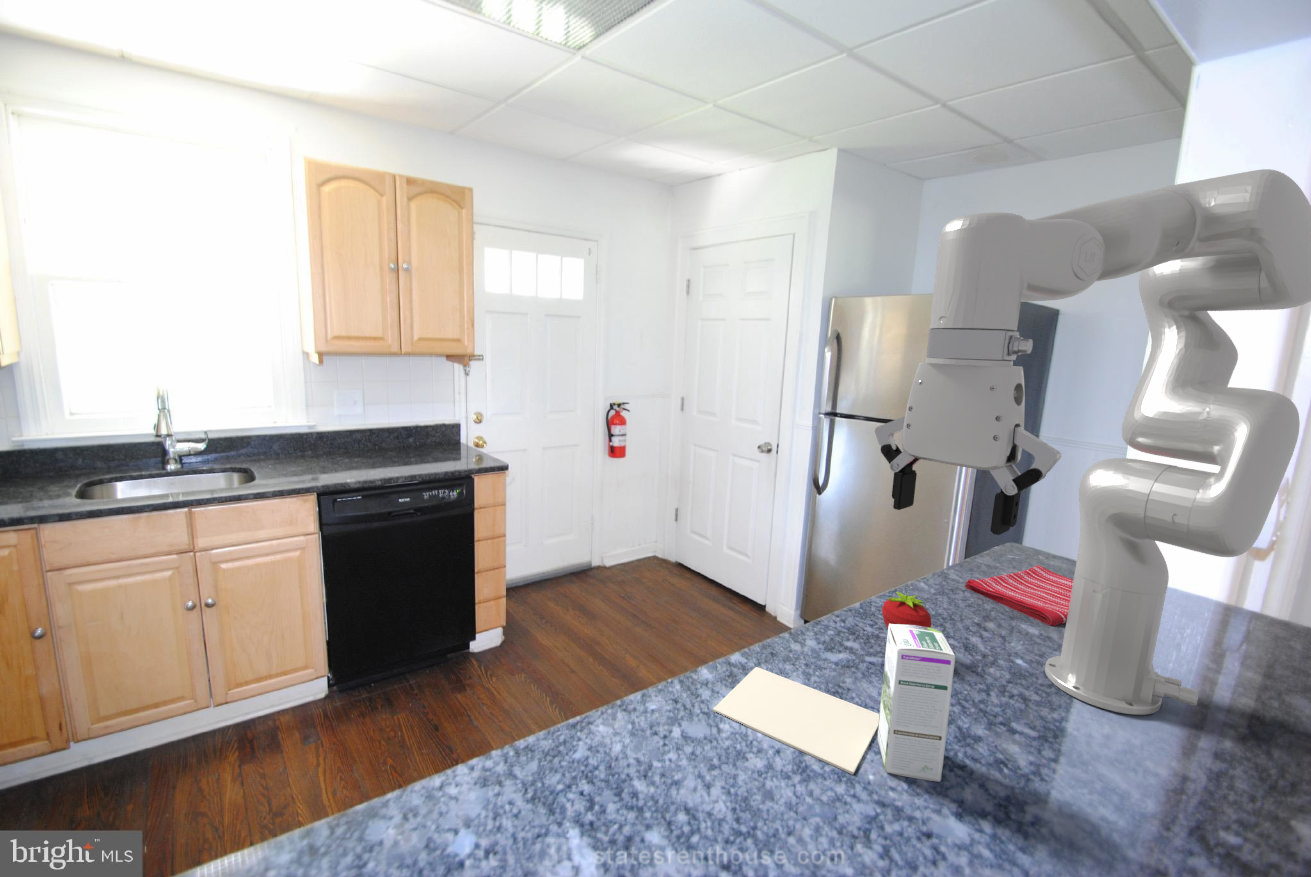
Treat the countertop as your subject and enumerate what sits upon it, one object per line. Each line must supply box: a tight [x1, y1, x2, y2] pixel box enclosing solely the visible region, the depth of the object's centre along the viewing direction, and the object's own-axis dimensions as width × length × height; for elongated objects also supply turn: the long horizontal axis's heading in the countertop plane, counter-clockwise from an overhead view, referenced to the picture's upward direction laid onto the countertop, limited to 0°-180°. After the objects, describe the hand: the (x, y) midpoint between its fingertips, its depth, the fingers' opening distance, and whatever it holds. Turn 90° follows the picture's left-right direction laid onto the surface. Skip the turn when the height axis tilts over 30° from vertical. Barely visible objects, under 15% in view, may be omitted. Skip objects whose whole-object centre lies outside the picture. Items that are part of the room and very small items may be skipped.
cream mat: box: [712, 666, 879, 775], centre depth 70 cm, size 17×12×1 cm
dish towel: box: [965, 564, 1074, 627], centre depth 109 cm, size 17×24×3 cm
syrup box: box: [876, 624, 956, 783], centre depth 62 cm, size 6×6×14 cm
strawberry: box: [881, 586, 933, 629], centre depth 86 cm, size 6×8×10 cm
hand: (948, 518), depth 59 cm, fingers open, 9 cm apart
